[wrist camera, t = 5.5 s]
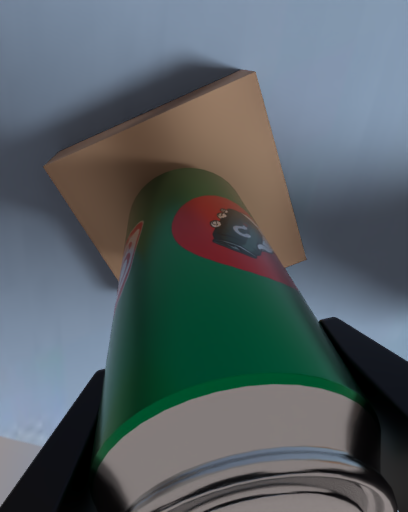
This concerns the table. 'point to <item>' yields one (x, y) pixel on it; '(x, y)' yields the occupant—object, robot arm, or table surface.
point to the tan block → (181, 164)
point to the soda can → (223, 373)
